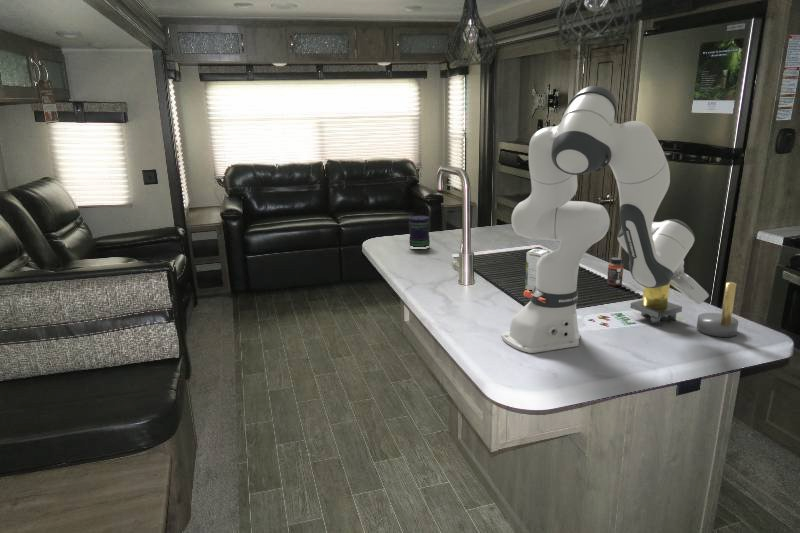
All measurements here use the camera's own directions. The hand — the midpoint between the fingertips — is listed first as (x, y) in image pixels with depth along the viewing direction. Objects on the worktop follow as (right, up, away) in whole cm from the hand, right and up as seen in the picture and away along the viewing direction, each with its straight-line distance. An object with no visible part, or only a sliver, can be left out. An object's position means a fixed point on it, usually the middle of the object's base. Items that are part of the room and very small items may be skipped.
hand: (698, 300), depth 147 cm
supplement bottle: (-3, +3, +51) cm, 51 cm away
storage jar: (-72, +18, +115) cm, 137 cm away
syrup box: (-32, +1, +49) cm, 58 cm away
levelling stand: (-4, -7, +18) cm, 19 cm away
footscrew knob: (+9, -9, +8) cm, 15 cm away
